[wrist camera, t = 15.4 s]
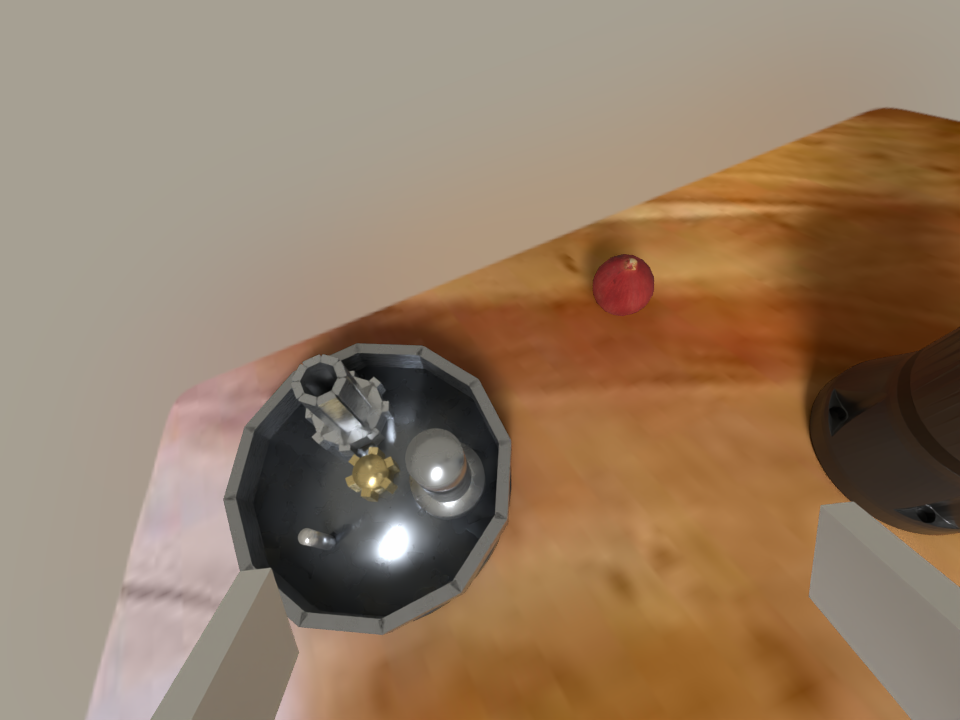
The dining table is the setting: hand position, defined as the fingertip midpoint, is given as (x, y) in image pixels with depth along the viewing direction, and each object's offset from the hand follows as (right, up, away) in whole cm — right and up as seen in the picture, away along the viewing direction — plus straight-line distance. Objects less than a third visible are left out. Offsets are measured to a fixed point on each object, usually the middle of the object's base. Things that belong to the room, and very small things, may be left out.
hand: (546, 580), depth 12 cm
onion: (+13, +11, +40) cm, 43 cm away
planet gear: (-14, 0, +35) cm, 37 cm away
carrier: (-11, -6, +33) cm, 35 cm away
